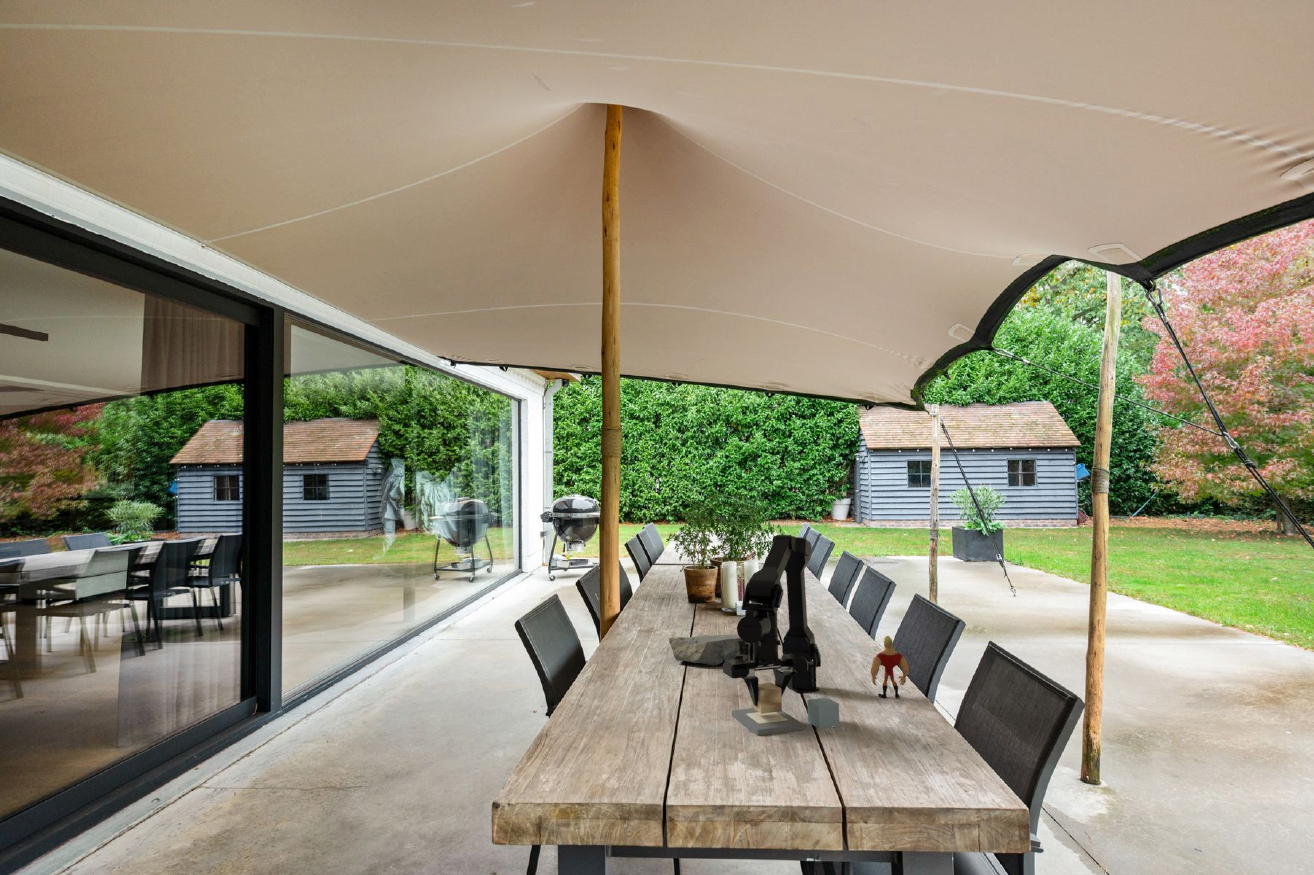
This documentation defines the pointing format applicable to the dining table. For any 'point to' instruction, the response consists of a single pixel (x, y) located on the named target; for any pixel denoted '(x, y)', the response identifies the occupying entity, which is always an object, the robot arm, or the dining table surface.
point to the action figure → (889, 666)
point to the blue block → (823, 712)
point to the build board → (767, 721)
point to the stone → (705, 648)
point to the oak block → (768, 698)
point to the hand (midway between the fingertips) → (766, 704)
